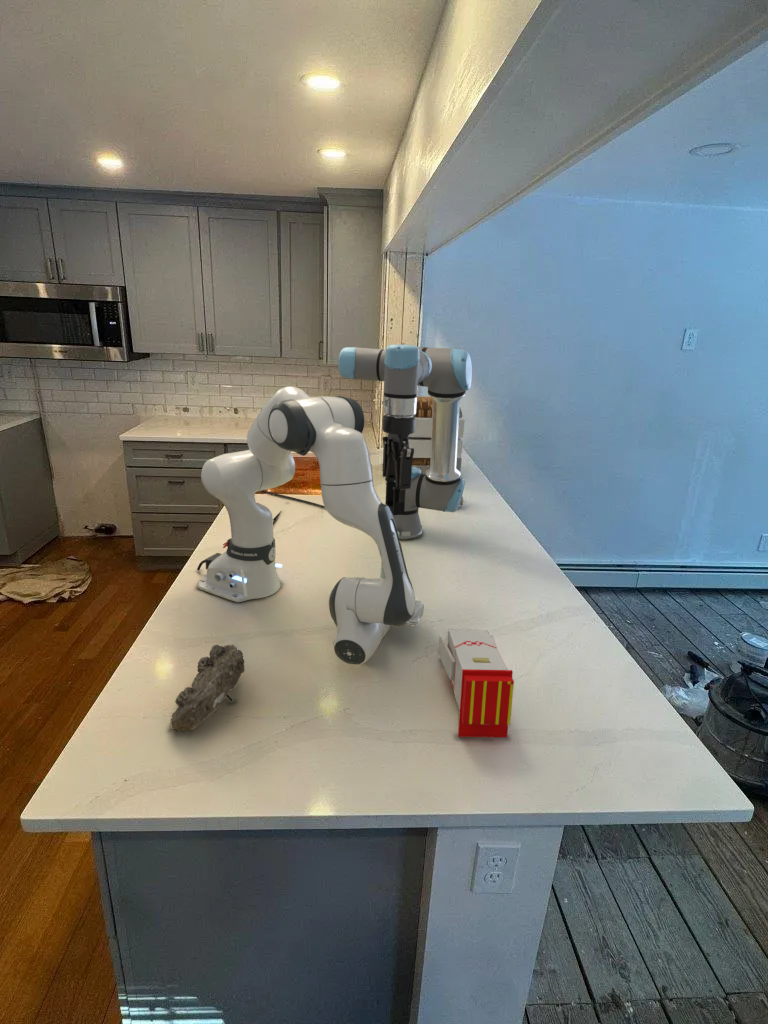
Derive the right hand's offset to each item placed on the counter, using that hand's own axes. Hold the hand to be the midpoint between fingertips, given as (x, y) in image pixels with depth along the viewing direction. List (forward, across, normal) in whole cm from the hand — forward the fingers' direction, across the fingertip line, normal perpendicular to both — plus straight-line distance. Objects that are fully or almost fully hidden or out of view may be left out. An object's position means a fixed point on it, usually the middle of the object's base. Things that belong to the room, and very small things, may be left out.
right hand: (394, 510), depth 138 cm
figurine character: (+29, -73, +57) cm, 98 cm away
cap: (-1, 0, 0) cm, 1 cm away
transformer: (+30, -120, +64) cm, 139 cm away
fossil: (+28, +21, -46) cm, 58 cm away
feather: (+29, -80, -12) cm, 86 cm away
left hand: (+22, 0, 0) cm, 22 cm away
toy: (+28, +35, +4) cm, 45 cm away
